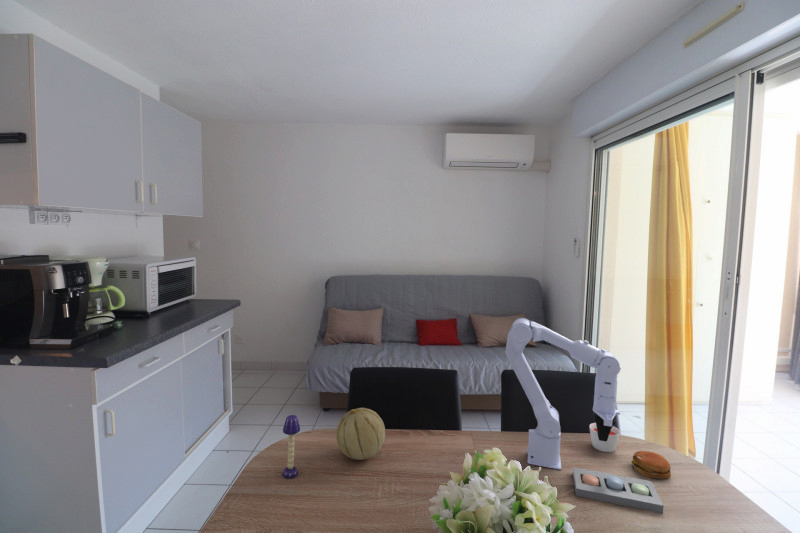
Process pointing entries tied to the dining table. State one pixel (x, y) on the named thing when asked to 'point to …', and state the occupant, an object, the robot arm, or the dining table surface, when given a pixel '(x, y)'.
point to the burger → (651, 465)
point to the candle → (604, 445)
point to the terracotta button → (590, 480)
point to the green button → (639, 489)
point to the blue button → (614, 483)
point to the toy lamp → (291, 444)
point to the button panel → (617, 491)
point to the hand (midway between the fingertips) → (602, 440)
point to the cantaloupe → (360, 433)
